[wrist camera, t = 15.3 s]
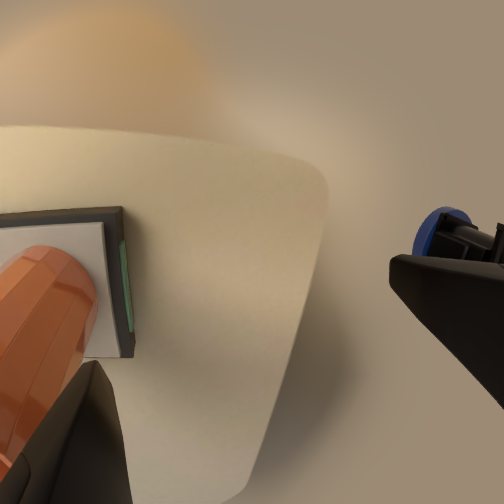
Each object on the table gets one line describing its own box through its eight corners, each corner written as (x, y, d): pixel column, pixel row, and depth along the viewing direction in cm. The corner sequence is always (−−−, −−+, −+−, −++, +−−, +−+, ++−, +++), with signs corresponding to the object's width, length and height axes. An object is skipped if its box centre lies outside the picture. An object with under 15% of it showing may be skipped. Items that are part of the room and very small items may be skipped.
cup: (120, 305, 18) (82, 502, 6) (57, 358, 18) (8, 521, 6) (45, 221, 15) (-105, 349, 3) (-10, 288, 15) (-116, 420, 4)
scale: (125, 205, 19) (118, 214, 16) (138, 342, 22) (135, 363, 20) (-7, 214, 16) (-26, 224, 14) (20, 339, 20) (9, 358, 17)
